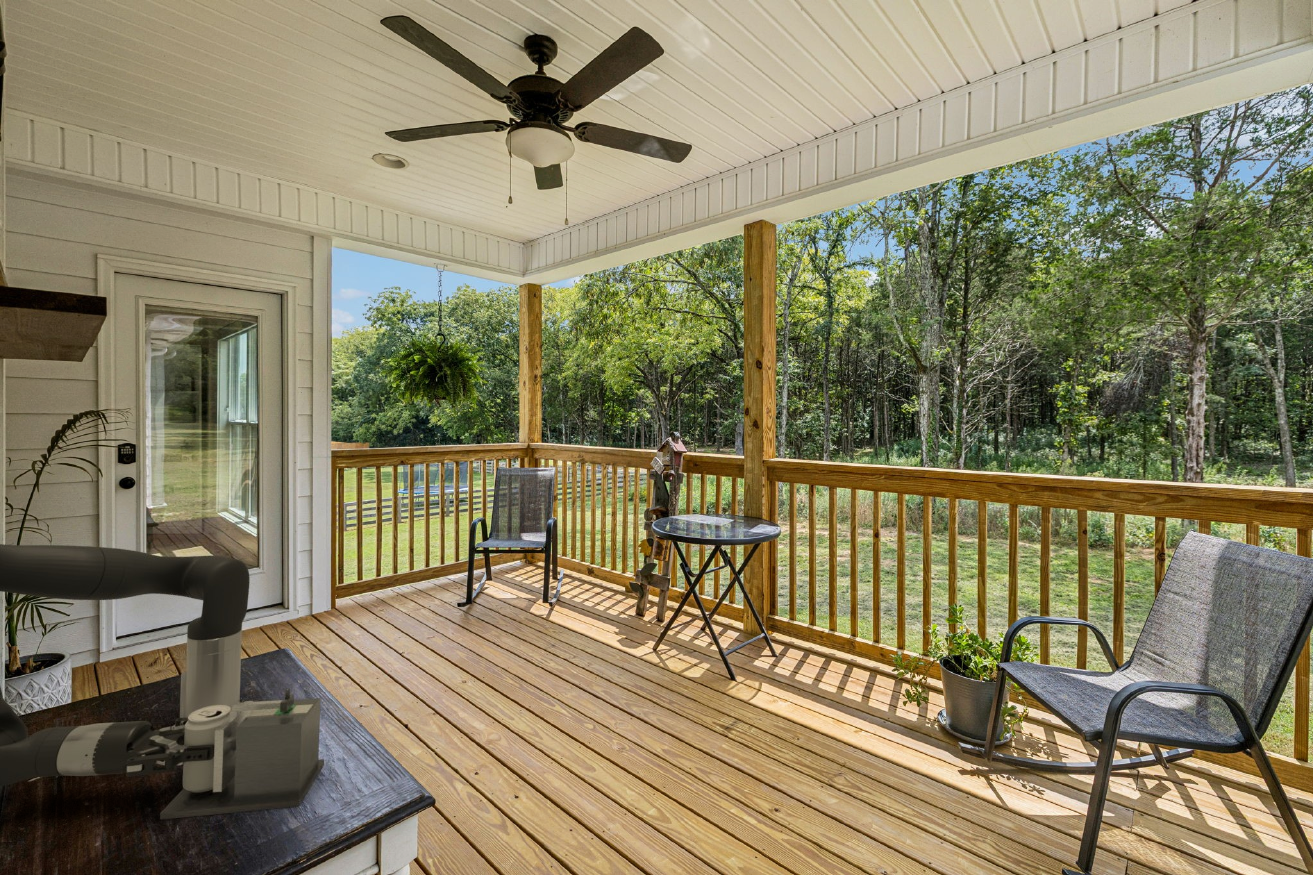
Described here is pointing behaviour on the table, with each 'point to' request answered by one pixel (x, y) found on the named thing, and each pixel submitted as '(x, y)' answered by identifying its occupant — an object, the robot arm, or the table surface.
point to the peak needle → (287, 701)
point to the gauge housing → (264, 764)
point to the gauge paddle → (232, 740)
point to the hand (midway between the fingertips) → (224, 741)
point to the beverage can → (202, 733)
